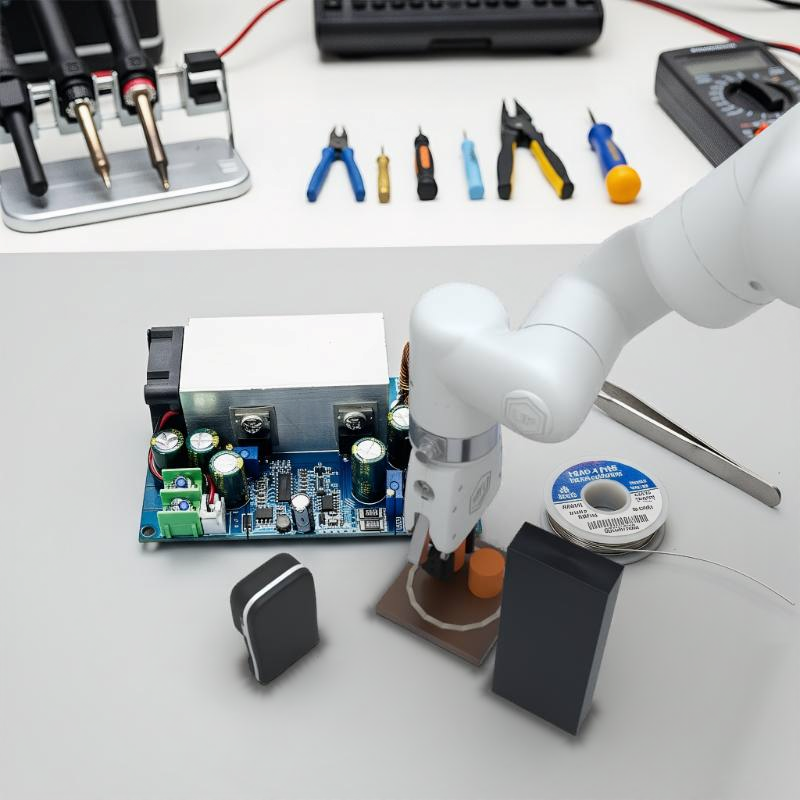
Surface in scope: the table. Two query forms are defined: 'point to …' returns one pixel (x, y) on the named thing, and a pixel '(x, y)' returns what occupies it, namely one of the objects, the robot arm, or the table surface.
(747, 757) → the table surface
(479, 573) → the eye dot
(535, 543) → the dot stand
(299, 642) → the battery charger
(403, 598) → the board
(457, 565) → the eye dot
